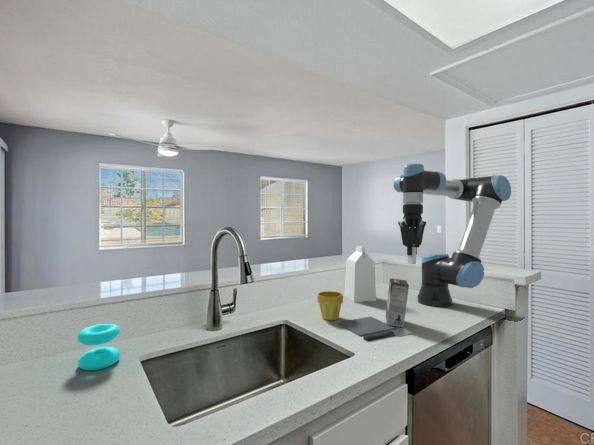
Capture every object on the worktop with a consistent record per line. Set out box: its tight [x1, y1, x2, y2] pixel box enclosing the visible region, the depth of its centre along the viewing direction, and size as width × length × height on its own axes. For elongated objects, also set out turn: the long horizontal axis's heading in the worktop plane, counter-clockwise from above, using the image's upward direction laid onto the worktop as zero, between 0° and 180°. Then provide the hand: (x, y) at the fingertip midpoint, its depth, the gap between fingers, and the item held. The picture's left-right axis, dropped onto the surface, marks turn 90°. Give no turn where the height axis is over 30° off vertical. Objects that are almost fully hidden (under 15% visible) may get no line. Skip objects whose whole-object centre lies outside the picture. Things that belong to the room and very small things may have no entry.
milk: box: [343, 245, 377, 303], centre depth 157 cm, size 12×12×26 cm
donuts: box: [77, 323, 121, 371], centre depth 88 cm, size 10×10×10 cm
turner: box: [363, 327, 414, 342], centre depth 109 cm, size 19×5×1 cm, turn 116°
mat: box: [336, 316, 396, 337], centre depth 118 cm, size 16×14×1 cm
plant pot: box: [316, 290, 344, 321], centre depth 128 cm, size 10×10×10 cm
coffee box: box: [385, 278, 410, 328], centre depth 121 cm, size 9×6×16 cm
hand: (411, 263), depth 125 cm, fingers closed
